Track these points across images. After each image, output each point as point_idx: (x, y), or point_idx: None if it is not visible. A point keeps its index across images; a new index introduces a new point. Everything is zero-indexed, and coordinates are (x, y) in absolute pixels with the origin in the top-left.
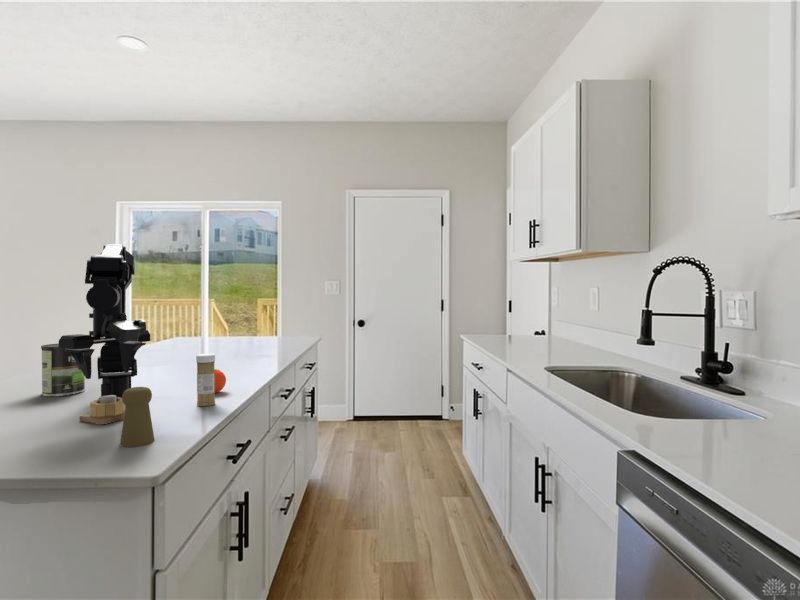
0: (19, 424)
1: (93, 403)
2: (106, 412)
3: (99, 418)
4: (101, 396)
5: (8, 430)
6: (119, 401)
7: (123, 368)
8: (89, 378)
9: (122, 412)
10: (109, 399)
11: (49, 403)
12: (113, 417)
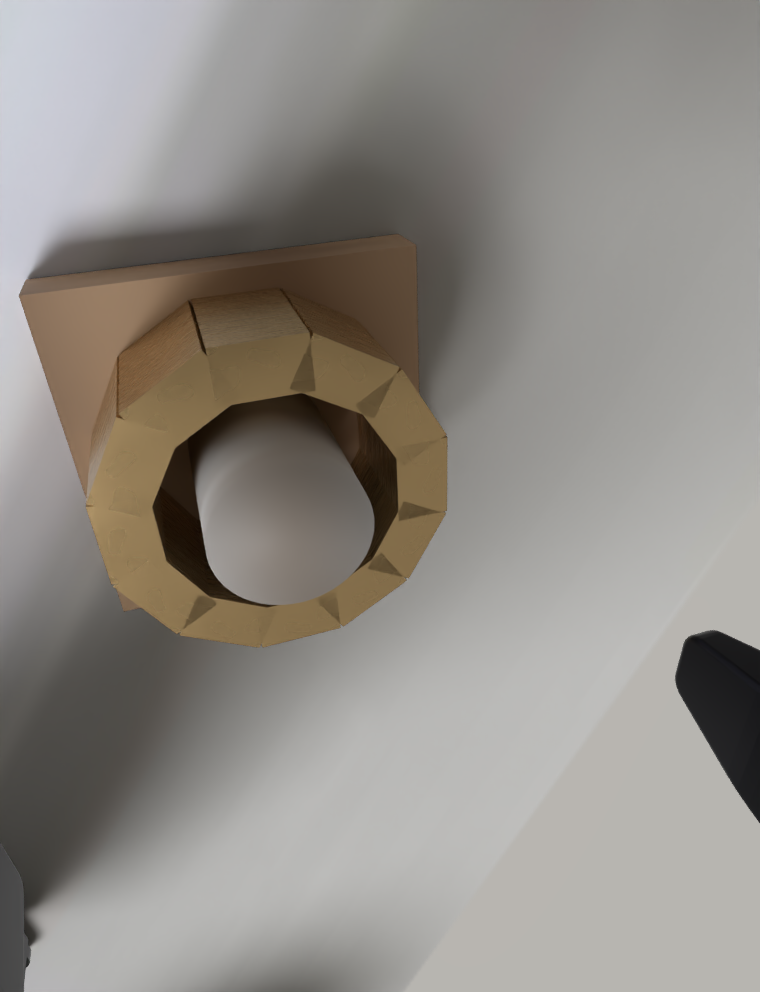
0: (582, 684)
1: (425, 508)
2: (361, 332)
3: (404, 329)
4: (25, 954)
5: (673, 609)
6: (227, 376)
7: (19, 966)
8: (712, 631)
9: (189, 307)
10: (319, 454)
11: (264, 980)
12: (309, 259)
